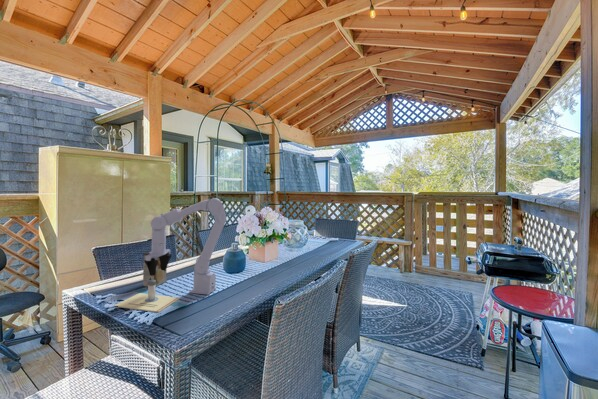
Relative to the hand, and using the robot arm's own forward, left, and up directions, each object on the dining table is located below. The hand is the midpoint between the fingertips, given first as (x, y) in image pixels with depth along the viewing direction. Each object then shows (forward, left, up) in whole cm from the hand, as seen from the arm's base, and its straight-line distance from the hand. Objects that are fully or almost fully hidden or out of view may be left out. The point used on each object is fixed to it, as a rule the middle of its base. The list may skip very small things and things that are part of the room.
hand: (158, 272), depth 130 cm
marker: (-3, +8, -9) cm, 12 cm away
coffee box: (+9, -10, -10) cm, 17 cm away
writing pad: (-3, +10, -9) cm, 14 cm away
